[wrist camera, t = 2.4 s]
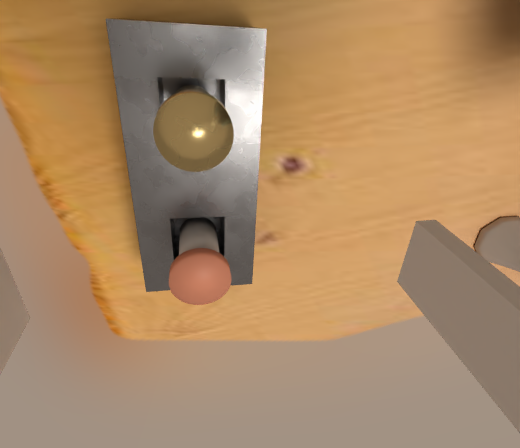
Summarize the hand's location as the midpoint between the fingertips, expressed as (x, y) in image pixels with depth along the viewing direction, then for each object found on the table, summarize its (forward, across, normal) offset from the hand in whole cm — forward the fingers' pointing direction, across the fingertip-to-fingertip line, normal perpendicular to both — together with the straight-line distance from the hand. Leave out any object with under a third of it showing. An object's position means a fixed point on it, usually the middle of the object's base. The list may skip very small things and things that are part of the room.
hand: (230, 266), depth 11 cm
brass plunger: (+20, -1, +1) cm, 20 cm away
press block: (+25, -1, -5) cm, 25 cm away
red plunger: (+20, -1, -11) cm, 23 cm away
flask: (+25, +41, -18) cm, 51 cm away
